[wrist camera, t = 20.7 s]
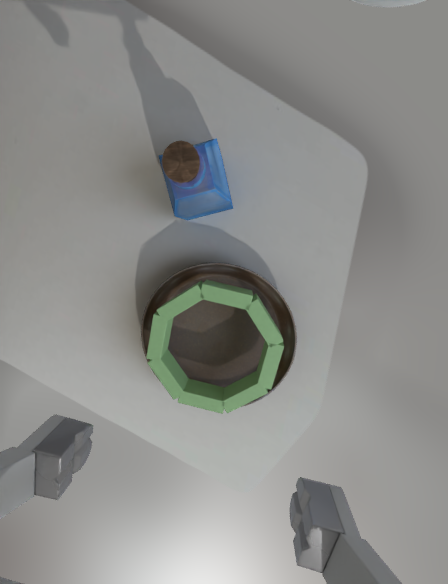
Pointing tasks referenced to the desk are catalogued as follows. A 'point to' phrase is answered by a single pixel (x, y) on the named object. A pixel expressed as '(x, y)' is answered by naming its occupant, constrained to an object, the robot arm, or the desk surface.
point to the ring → (204, 392)
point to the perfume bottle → (195, 179)
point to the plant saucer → (221, 327)
